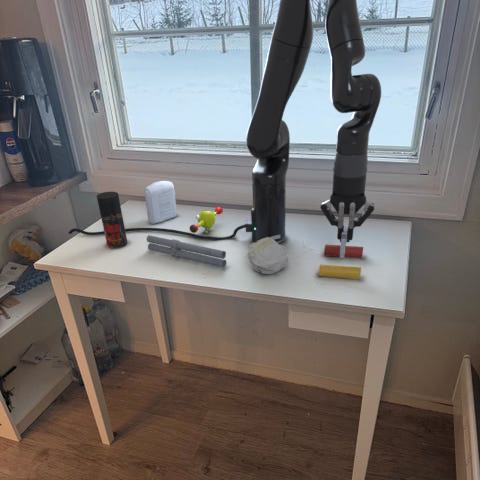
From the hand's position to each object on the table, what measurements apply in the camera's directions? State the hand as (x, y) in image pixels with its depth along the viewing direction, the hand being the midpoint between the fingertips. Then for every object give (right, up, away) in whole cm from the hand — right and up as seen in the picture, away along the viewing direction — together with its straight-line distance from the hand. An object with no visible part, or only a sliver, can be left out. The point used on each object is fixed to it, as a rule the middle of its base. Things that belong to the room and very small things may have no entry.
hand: (344, 240), depth 118 cm
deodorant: (-63, +2, +22) cm, 67 cm away
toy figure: (-36, +7, +27) cm, 46 cm away
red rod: (+2, -3, +9) cm, 9 cm away
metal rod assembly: (-41, -3, +12) cm, 43 cm away
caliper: (0, -1, 0) cm, 1 cm away
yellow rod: (-2, -9, -1) cm, 9 cm away
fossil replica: (-19, -7, +4) cm, 20 cm away
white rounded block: (-52, +13, +37) cm, 65 cm away
